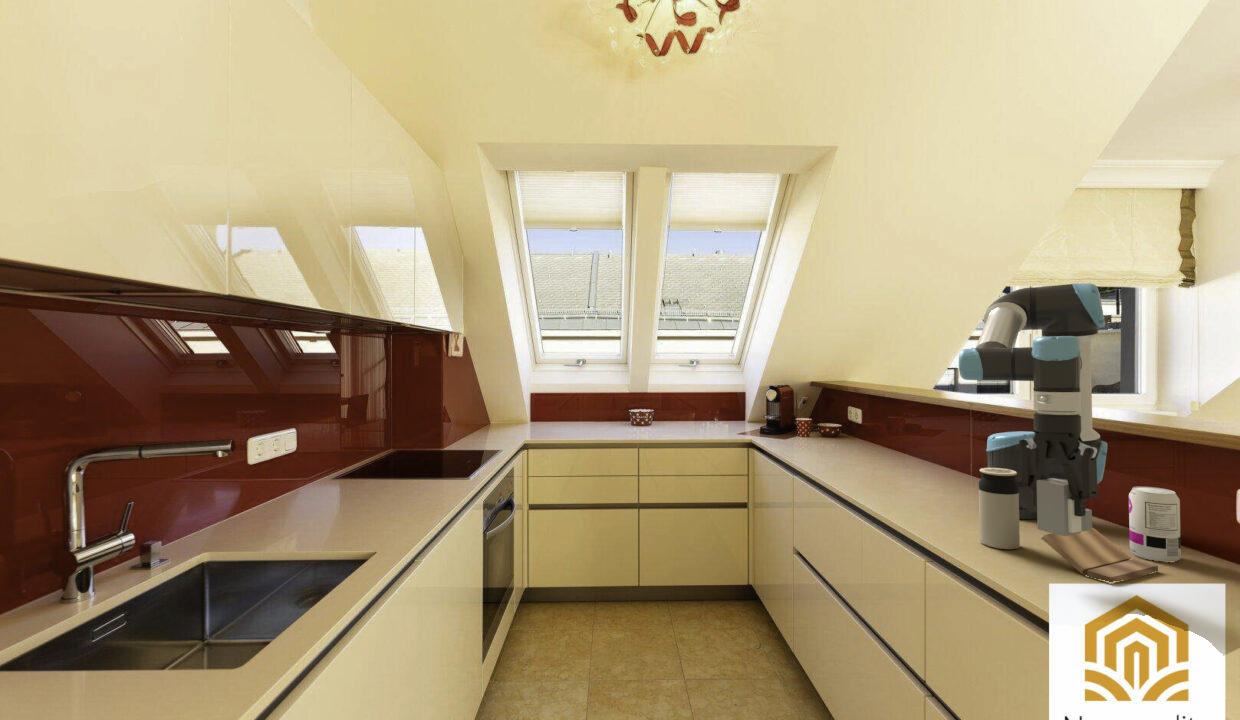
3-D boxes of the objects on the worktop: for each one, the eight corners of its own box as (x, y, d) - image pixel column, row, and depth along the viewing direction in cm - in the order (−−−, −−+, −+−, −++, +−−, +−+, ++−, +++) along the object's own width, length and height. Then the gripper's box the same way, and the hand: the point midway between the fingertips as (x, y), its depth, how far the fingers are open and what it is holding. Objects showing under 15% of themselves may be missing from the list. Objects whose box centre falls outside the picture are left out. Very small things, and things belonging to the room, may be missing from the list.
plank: (1087, 529, 126) (1090, 525, 126) (1128, 562, 119) (1132, 558, 118) (1041, 538, 121) (1044, 534, 120) (1082, 574, 113) (1085, 570, 113)
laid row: (1131, 564, 119) (1131, 557, 119) (1158, 571, 114) (1157, 565, 114) (1084, 576, 113) (1084, 569, 113) (1110, 584, 109) (1110, 577, 109)
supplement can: (1122, 554, 125) (1121, 488, 125) (1141, 548, 128) (1140, 484, 128) (1169, 566, 117) (1167, 496, 117) (1188, 559, 121) (1187, 492, 121)
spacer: (1067, 523, 115) (1066, 476, 115) (1095, 530, 111) (1094, 480, 111) (1037, 529, 112) (1036, 480, 112) (1064, 536, 107) (1063, 485, 107)
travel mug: (1026, 551, 128) (1025, 474, 128) (988, 549, 129) (987, 473, 129) (1009, 540, 136) (1008, 467, 136) (974, 538, 137) (972, 467, 137)
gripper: (999, 409, 118) (1001, 517, 118) (1097, 417, 101) (1099, 543, 101) (1022, 408, 120) (1024, 513, 120) (1122, 415, 103) (1124, 538, 103)
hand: (1058, 527), depth 110 cm, fingers closed on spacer, 5 cm apart
